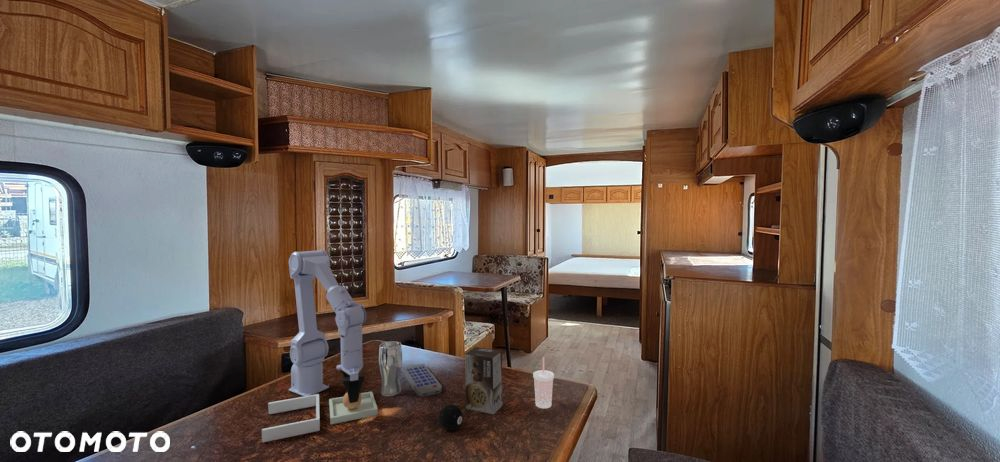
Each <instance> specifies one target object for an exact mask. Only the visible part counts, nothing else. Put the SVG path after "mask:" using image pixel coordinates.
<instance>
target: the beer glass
mask: <svg viewBox="0 0 1000 462" xmlns="http://www.w3.org/2000/svg"><path fill="white" fill-rule="evenodd" d="M378 365H379V371H380V374H381V375H380V376H381V390H380V394H381V396H383V397H389V398H390V397H395V396H397V395H400V394H401V393H402V386H401V379H400V378H401V372H402V367H403V366H402V365H403V350H402V343H401V341H394V340H393V341H392V340H391V341H386V342H382V343H380V344H379V350H378Z"/></svg>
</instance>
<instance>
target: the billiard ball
mask: <svg viewBox="0 0 1000 462" xmlns="http://www.w3.org/2000/svg"><path fill="white" fill-rule="evenodd" d="M463 418H464V415H463V411H462V409H461V408H460V407H459V406H458V405H457V404H456V405H455V404H447V405H445V406H443V407H442V409H441V410H440V412H439V414H438V422H439V424H440V426H441V427H442V429H444V430H445V431H455V430H457V429H458V428H460V426H461V424H462V423H463V420H464V419H463Z"/></svg>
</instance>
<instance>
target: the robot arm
mask: <svg viewBox="0 0 1000 462" xmlns="http://www.w3.org/2000/svg"><path fill="white" fill-rule="evenodd" d="M288 269H289V277H290V279H292V280H294V290H295V292H294V294H295V301H296V311H297V321H298V333H297V334H296V335H295V336H294V337H293V338H292V339H291V340H290V349H289V357H290V361H291V363H292V366H291V369H290V383H291V387H290V388H289V389H288V391H289V392H292V393H294V394H297V395H299V396H301V397H304V396H310V395H315V394H319V393H320V392H323V391H324V390H328V389H329V388H330V386H329V385H326V384H324V377H323V376H324V374H323V373H324V372H323V361H325V357H327V356H328V353H329V343H328V341H327V338H326V334H325V333H324V332H322V331H321V330H318V325H317V324H318V323H317V315H316V314H317V313H316V304H315V294H314V284H313V281H314V279H315V278H316V280H318V282H319V283H320V284H321V285H322V287H323V288H324V290H325V291H326V294H325V298H326V301H328V303H329V306H330V307H331V308H332V310H333V311H334V313H335V317H334V318H335V319H334V320H335V323H336V326H337V332H338V334H339V335H340V364H338V365H336V370H338V371H339V370H340V372H341V373H342V375H343V377H342V378H341V379H342V383H343V385H344V387H345V389H346V393H348V398H349V402H350V403H354V402H358V399H359V394H360V393H361V388H362V385H363V383H364V381H365V375H362V376H361V375H360V376H359V373H360V372H361V370H362V369H363V367H364V361H363V359H364V357H363V325H364V324H365V323H366V321H367V311H366V309H365V307H364V305H362V304H360V303H359V302H356V301H354V299H353V297H352V296H351V295H350V293H349V292H348V290H347V288H346V287H345V286H343V285H339V283H338V281H337V279H336V277H335V275H334V274H333V272H332V269H331V267H330V257H329V254H328V252H327V251H326V250H325V249H319V250H307V251H294V252H292V253H291V254H290V257H289V258H288Z"/></svg>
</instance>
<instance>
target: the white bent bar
mask: <svg viewBox="0 0 1000 462" xmlns="http://www.w3.org/2000/svg"><path fill="white" fill-rule="evenodd" d="M267 407H268V415H273V414H279V413H285V412H291V411H294V410H296V411H297V410H300V409H307V408H311V407H315V418H311V419H307V420H306V419H305V420H302V421H296V422H292V423H290V422H289V423H286V424H285V423H284V424H280V425H276V426H270V427H266V428H261V443H262V444H263V443H266V442H267V443H268V442H271V441H276V440H282V439H285V438H290V437H291V438H292V437H296V436H301V435H304V434H305V435H306V434H309V433H315V432H319V431H320V429H321V427H320V426H321V423H320V422H321V420H320V414H321V413H320V394H319V393H316V394H313V395H310V396H299V397H294V398H288V399H282V400H276V401H270V402H268V403H267Z"/></svg>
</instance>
